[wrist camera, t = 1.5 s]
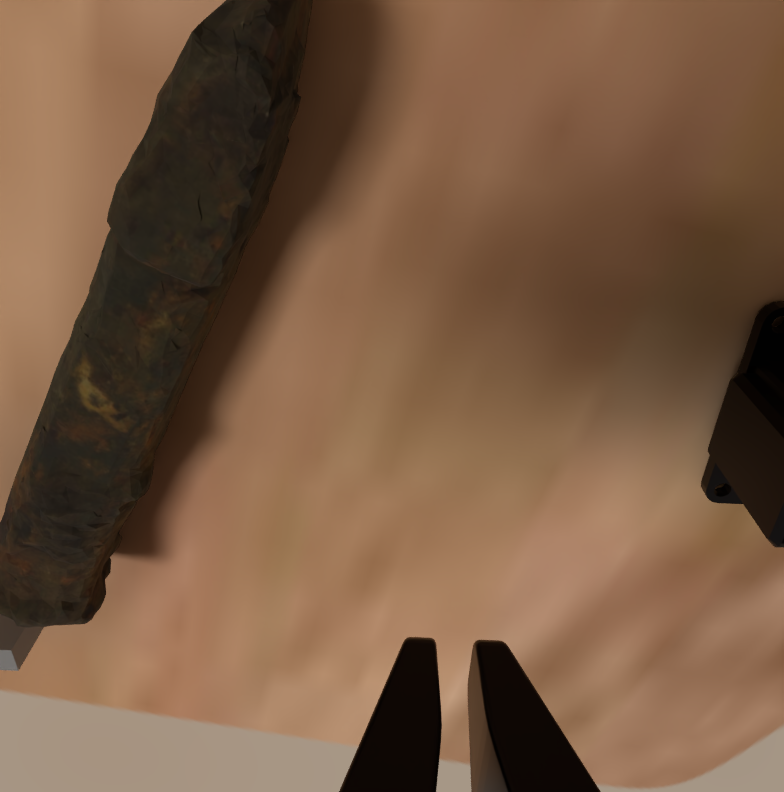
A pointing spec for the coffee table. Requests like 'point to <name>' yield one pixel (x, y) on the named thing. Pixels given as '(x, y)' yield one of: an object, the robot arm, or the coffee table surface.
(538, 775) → the robot arm
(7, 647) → the plate
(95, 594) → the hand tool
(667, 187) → the coffee table surface
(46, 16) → the coffee table surface
